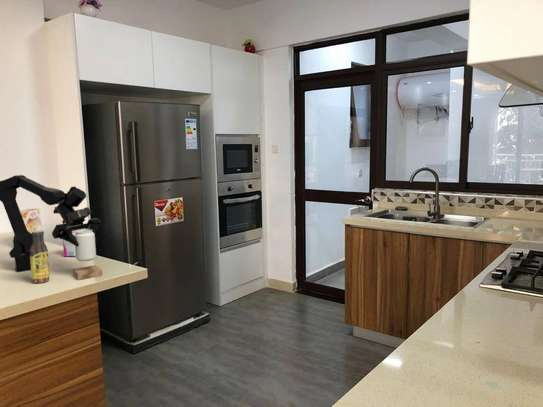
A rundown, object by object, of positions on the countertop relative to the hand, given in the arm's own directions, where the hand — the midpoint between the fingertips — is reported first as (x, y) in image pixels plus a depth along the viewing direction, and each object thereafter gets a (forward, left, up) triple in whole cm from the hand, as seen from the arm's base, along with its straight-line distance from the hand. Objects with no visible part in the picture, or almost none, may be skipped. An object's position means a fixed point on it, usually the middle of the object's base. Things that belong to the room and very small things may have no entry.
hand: (87, 243), depth 169 cm
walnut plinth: (0, +1, -13) cm, 13 cm away
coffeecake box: (-10, +84, -13) cm, 86 cm away
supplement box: (+3, +42, -13) cm, 44 cm away
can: (0, +1, -7) cm, 7 cm away
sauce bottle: (-17, +5, -13) cm, 22 cm away
